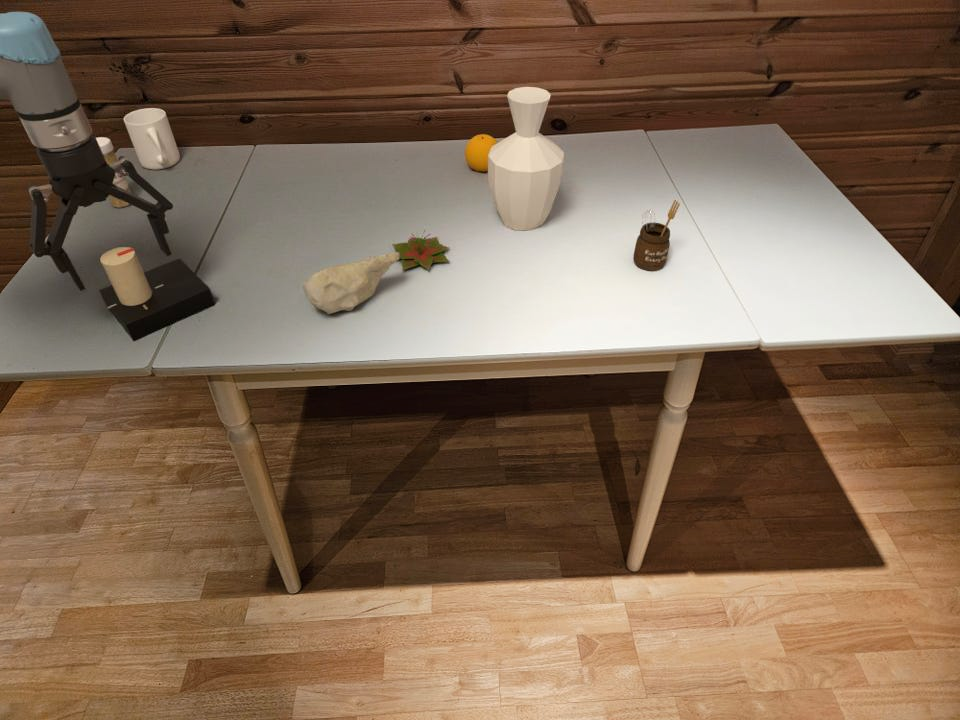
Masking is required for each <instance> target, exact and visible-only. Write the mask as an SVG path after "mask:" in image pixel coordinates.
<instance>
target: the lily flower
mask: <svg viewBox="0 0 960 720" xmlns="http://www.w3.org/2000/svg"><path fill="white" fill-rule="evenodd" d="M425 232H426V230H424V231H423V233H422V236H421V237H416V236H415V235H414V234H413V232H412V233H411V235H412V236H410V237H408V240H407V242H399V243H396V244H395V243H392V244H391V245H392V246H393V248H394V249H395V250H396V252H399V254H400V255H399V259H402V260H401V271H404V270H407V269H410V268H412V267H416V266H419V265H420V266H422V267H423V268H425V269H426V270H427V271H428V272H429V271H430V268H431V265H432V264H433V263H450V260H449V259H448V258H447V256H446V255H445V254H444V253H442V252H444V251H447V250H450V247H448V246H446V245H444V244H441V243H439V239H438V236H434V237H429V236H430V235H432V233H428V234H427V236H424V234H425ZM416 235H418V232H416Z"/></svg>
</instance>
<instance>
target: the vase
mask: <svg viewBox="0 0 960 720" xmlns="http://www.w3.org/2000/svg"><path fill="white" fill-rule="evenodd" d="M551 95H552V94H551V93H550V92H549V91H548V90H547V89H543V88H541V87H535V86H522V87H516V88H513V89H511V90H509V91H508V93H507V95H506V96H507V101H508V105H509V110H510V113H511V117H512V121H513V125H514V130H515V132H514V133H512V134H510V135H509V136H507V137H505V138H504V139H502V140H500V141H499V142H498V143H497V144H495V145H494V146H492V147H491V150H490V152H489V155H488V171H487V177H488V179H487V180H488V181H487V182H488V186H489V190H490V194H491V197H492V200H493V204H494V206H495V209H496V210H497V212H498V214H499V216H500V218H501V221H502V223H503V224H504V226H505V227H506V228H508V229H511V230H513V231H522V232H523V231H524V232H525V231H529V230H534V229H536V228H538V227H541V226H542V225H544V223H545V221H546V220H547V218H548V217H549V215H550V213H551V211H552V209H553V205H554V201H555V199H556V196H557V193H558V191H559V189H560V185H561V181H562V177H563V170H564V160H565V151H563V150H562V148H560V147H559V146H558V145H557V144H556V143H555V142H553V141H552V140H551V139H549V138H548V137H546V136H545V135H543V134H542V133H540V129H541V126H542V123H543V121H544V116H545V114H546V111H547V108H548V105H549V103H550V99H551Z"/></svg>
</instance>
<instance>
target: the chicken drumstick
mask: <svg viewBox="0 0 960 720" xmlns="http://www.w3.org/2000/svg"><path fill="white" fill-rule="evenodd" d="M399 255H400V254H399V252H397V251H393V252H390V253H388V254H386V253H384V254H380V255H377V256H374V257H373V255H371V256H368V257H366V259H363V260H361V261H357V262H353V263H347V264H339V265H336V266H331V267H328V268H324V269H321V270H319V271H317V272H315V273H312V274H311V276H309V278H308V280H306V281H305V282H303V283H302V285H301V287H302V290H303V293H305V297H306V299H307V300H308V302H309V303H310V305H311V306H313V307H316V308H318V309H319V310H321V311H323V312H326V313H327V314H328V315H330V314H333V313H338V312H340V311H346V312H352V311H353V309H354V308H355V307H356V306H358V305H360V304H362V303H363V302H365V301H367V300H368V299H369V298H370V297H372V296H373V295H374V293H375V292H376V290H377V286H378V284H380V281H381V278H382V277H383V276H384V275H385V274H386V273H387V272H388V271H389V270H390V268H391V267H392V265H394V264H395V263H396V262H398V260H400V258H399Z"/></svg>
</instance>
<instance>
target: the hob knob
mask: <svg viewBox="0 0 960 720" xmlns="http://www.w3.org/2000/svg"><path fill="white" fill-rule="evenodd" d="M100 263H101V265H102V267H103V270H104V272H105V273H106V275H107V277H108V279H109V282H110V284H111V285H112V286H113V288H114V290H115V292H116V294H117V296H118V298H119V300H120V302H121V303H122V304H123V305H126V306H135V305H139V304H142V303H144V302H146V301H147V300H149V299H150V297H151V296H152V290H151V288H150V286H149V284H148V281H147V279H146V277H145V274H144V272H145V271H144V270H143V268H142V266H141V262H140V261H139V258H138V256H137V254H136V252H135V250H134V248H133V247H127V246H119V247H114V248H112V249H110V250H107V251H105V252H104V253H103V254H102V255H101V257H100Z"/></svg>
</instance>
